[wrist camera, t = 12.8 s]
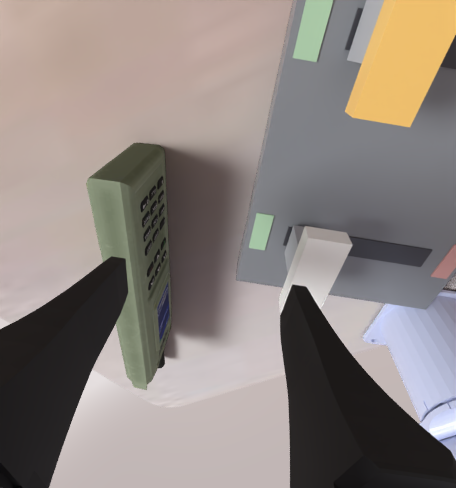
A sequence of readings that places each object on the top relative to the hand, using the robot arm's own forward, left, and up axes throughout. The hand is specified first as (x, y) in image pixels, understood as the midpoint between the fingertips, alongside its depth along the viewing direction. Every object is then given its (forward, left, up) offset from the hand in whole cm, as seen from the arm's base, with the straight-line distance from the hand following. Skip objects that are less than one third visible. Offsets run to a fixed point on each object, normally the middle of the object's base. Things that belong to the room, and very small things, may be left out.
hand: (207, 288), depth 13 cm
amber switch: (-6, -10, -8) cm, 14 cm away
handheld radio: (+5, +10, -11) cm, 16 cm away
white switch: (-6, +2, -8) cm, 10 cm away
